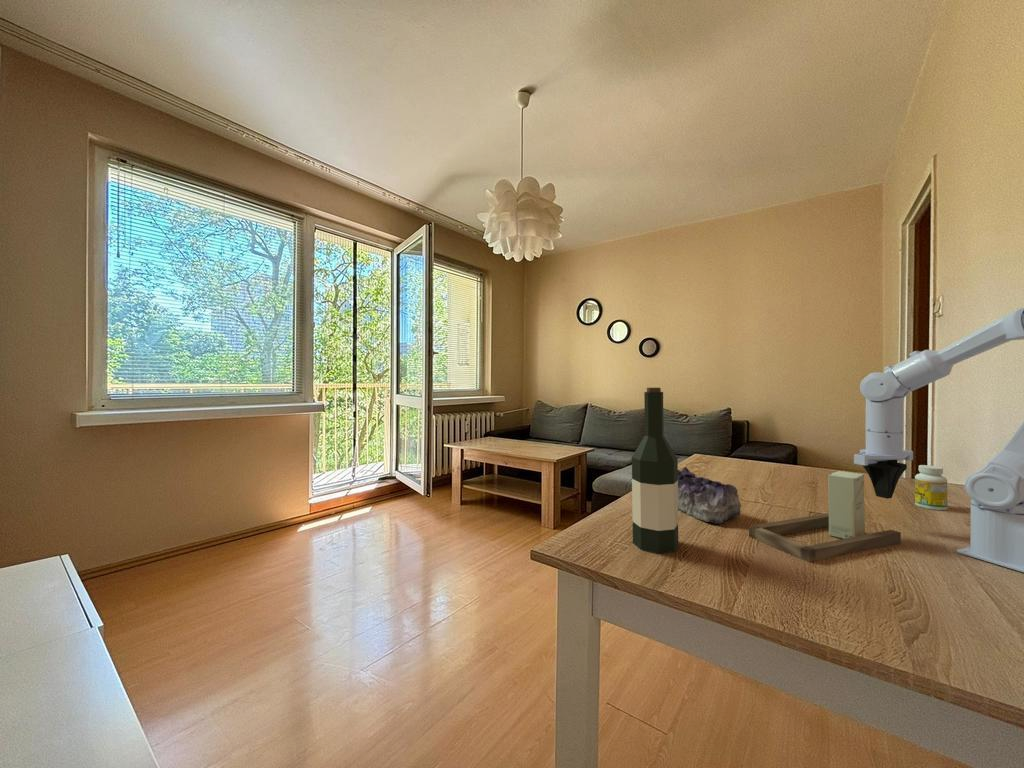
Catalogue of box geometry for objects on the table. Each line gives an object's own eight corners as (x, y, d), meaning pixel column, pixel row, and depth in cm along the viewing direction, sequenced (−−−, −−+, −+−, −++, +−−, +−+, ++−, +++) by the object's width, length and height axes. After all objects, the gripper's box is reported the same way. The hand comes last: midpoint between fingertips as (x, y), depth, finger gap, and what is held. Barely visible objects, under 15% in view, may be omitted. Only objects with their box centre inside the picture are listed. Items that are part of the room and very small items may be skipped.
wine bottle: (683, 555, 73) (681, 388, 72) (634, 552, 75) (632, 388, 74) (674, 537, 81) (672, 386, 80) (630, 534, 83) (629, 387, 82)
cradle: (900, 543, 76) (900, 532, 76) (809, 562, 69) (809, 550, 69) (833, 521, 88) (833, 512, 88) (749, 536, 81) (748, 526, 81)
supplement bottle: (953, 511, 93) (953, 470, 93) (923, 509, 95) (923, 468, 94) (938, 504, 98) (938, 465, 98) (909, 502, 100) (909, 463, 99)
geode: (647, 502, 104) (650, 462, 105) (683, 503, 108) (686, 465, 109) (708, 526, 85) (712, 478, 86) (750, 526, 89) (753, 480, 89)
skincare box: (855, 542, 77) (855, 478, 77) (827, 535, 81) (827, 474, 80) (865, 534, 81) (865, 473, 80) (837, 528, 84) (837, 469, 84)
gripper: (885, 427, 90) (885, 488, 90) (838, 430, 85) (838, 495, 85) (925, 431, 83) (925, 497, 83) (876, 435, 78) (876, 505, 79)
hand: (883, 497), depth 84 cm, fingers closed
